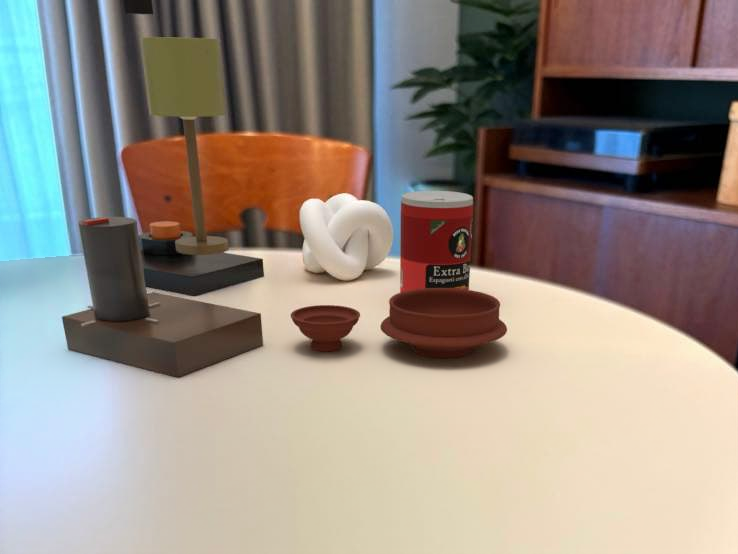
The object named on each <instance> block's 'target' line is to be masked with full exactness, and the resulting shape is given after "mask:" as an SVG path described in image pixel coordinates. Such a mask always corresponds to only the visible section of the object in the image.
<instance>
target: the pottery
mask: <svg viewBox="0 0 738 554" xmlns="http://www.w3.org/2000/svg"><path fill="white" fill-rule="evenodd" d="M388 304H389V312H388V313H389V316H387V317H386V318H384V319H383V320H382V321H381V323H380V330H381V331H382V333H383V334H385V336H388V337H390V338H391V339H394V340H396V341H400V342H404V343H407V344H409V345H410V348H411V349H412V351H413V352H415V353H416V354H418V355H421V356H424V357H430V358H438V359H439V358H441V359H451V358H454V359H455V358H460V357H465V356H468V355H470V354H472V353H473V352H474V351H475V349H476V347H477V346H479V345H484V344H489V343H492V342H495V341H498V340H499V339H502V338H503V337H504V336H505V335H506V334H507V333H508V327H507V325H506V324H505V322H504V321H503V320H502V319H500V308H501V302H500V300H499V299H498V298H496V297H495V296H493V295H490V294H488V293H485V292H481V291H477V290H470V289H469V290H465V289H454V288H425V289H416V290H410V291H405V292H401V293H400V292H398V293H396V294H394V295H392V296H391V297H390V298H389V301H388ZM360 317H361V313H360V312H359V310H356V309H355V308H352V307H348V306H343V305H335V304H332V305H331V304H318V305H310V306H309V305H308V306H303V307H300V308H297V309H295V310H292V312H291V313H290V318H291V320H292V322H293V324H294V325H295V326H296V327H297V328H298V329H299V331H300V332H301V334H302V335H303V336H305V337H306V338H308V339H310V340H311V342H310V348H311V349H312V350H314V351H317V352H336V351H338V350H341V349H342V348H343V341H342V339H344V338H346V337H347V336H348V335H350V333H351V332H352V330H353V328H354V326H355V325H357V324H358V321H359V320H360Z"/></svg>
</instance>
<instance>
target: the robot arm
mask: <svg viewBox="0 0 738 554" xmlns="http://www.w3.org/2000/svg"><path fill="white" fill-rule="evenodd" d="M123 6H124V13H125V14H132V15H154V7H153V1H152V0H123Z"/></svg>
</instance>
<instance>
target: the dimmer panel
mask: <svg viewBox="0 0 738 554" xmlns="http://www.w3.org/2000/svg"><path fill="white" fill-rule="evenodd" d="M147 298H148V305H149V312H150V313H149V314H148V315H147V316H145V317H143V318H139V319H135V320H129V321H104V320H100V319H97V318H96V317H95V315H94V310H93V305H90V304H89V305H87V307H86V309H85V310H81V311H78V312H74V313H70V314H67V315H63V316H61V321H62V325H63V330H64V336H65V342H66V346H67V349H68V350H71V351H75V352H78V353H82V354H85V355H90V356H93V357H97V358H102V359H105V360H108V361H109V360H110V361H113V362H116V363H120V364H125V365H127V366H128V365H129V366H133V367H137V368H141V369H145V370H148V371H152V372H155V373H160V374H165V375H167V376H171V377H176V378H180V377H183V376H186V375H188V374H191V373H193V372H197V371H198V370H201V369H203V368H206V367H210V366H212V365H215V364H217V363H219V362H222V361H224V360H228V359H231V358H233V357H236V356H239V355H241V354H244V353H246V352H249V351H251V350H253V349H257V348H259V347H262V346H264V337H263V323H262V313H261V312H256V311H250V310H246V309H241V308H236V307H229V306H225V305H220V304H215V303H210V302H205V301H200V300H195V299H188V298H186V297H185V298H184V297H181V296H180V297H179V296H174V295H170V294H164V293H160V292H154V291H153V292H149V293H148V292H147Z"/></svg>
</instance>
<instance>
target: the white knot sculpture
mask: <svg viewBox="0 0 738 554" xmlns="http://www.w3.org/2000/svg"><path fill="white" fill-rule="evenodd" d="M299 224H300V225H299V226H300V229H301V232H302V235H303V238H304V240H303V244H302V248H301V249H302V250H301V256H302V263H303V265H304V267H305V268H306V269H307V270H308V272H311V273H314V274H321V273H324V272H327V274H329V275H330V276H331V277H333V278H335V279H338V280H340V281H343V282H349V281H353V280H355V279H357V278H358V277H360V276H361V275H362V274H363V272H364V271H368V270H372V269H374V268H376V267H378V266H379V265H381V264H382V263H383V262H384V261H385V260H386V259H387V257H388V256H389V253H390V251H391V249H392V246H393V240H394V228H393V224H392V221H391V218H390V217H389V215H388V213H387V212H386V211H385V209H384V208H383V207H382V206H381V205H379V204H377V203H376V202H373V201H371V200H364V199H360V200H359V199H358V198H357V197H355V196H354V195H352V194H350V193H348V192H347V193H345V192H344V193H338V194H336V195H333V196H331V197H330V198H328V199H327V200H326V201H325V202H324V201H323V200H321V199H320V198H309V199H307V200H305V201H304V202H303V203H302V205H301V206H300V208H299Z"/></svg>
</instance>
